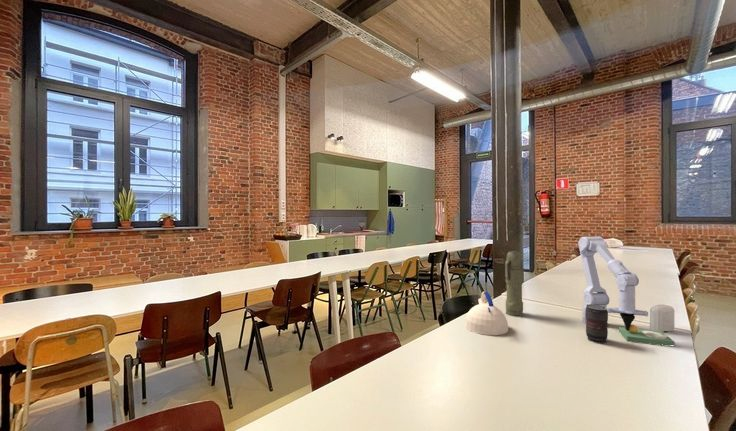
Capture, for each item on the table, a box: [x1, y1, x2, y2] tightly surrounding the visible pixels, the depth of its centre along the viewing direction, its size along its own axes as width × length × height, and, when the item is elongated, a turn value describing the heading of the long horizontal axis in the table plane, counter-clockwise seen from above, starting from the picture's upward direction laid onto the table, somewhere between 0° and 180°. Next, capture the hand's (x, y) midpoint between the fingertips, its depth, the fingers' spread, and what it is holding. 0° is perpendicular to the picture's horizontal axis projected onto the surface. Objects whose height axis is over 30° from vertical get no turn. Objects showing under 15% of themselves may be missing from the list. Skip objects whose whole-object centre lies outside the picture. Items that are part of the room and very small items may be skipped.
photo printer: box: [649, 303, 675, 333], centre depth 154 cm, size 10×4×12 cm, turn 98°
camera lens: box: [585, 304, 609, 344], centre depth 143 cm, size 8×8×15 cm
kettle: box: [464, 291, 509, 336], centre depth 161 cm, size 20×21×18 cm
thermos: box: [504, 250, 524, 317], centre depth 181 cm, size 9×12×35 cm
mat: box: [618, 326, 676, 346], centre depth 144 cm, size 16×12×2 cm
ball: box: [629, 324, 639, 333], centre depth 146 cm, size 4×4×4 cm
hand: (627, 330), depth 147 cm, fingers closed
